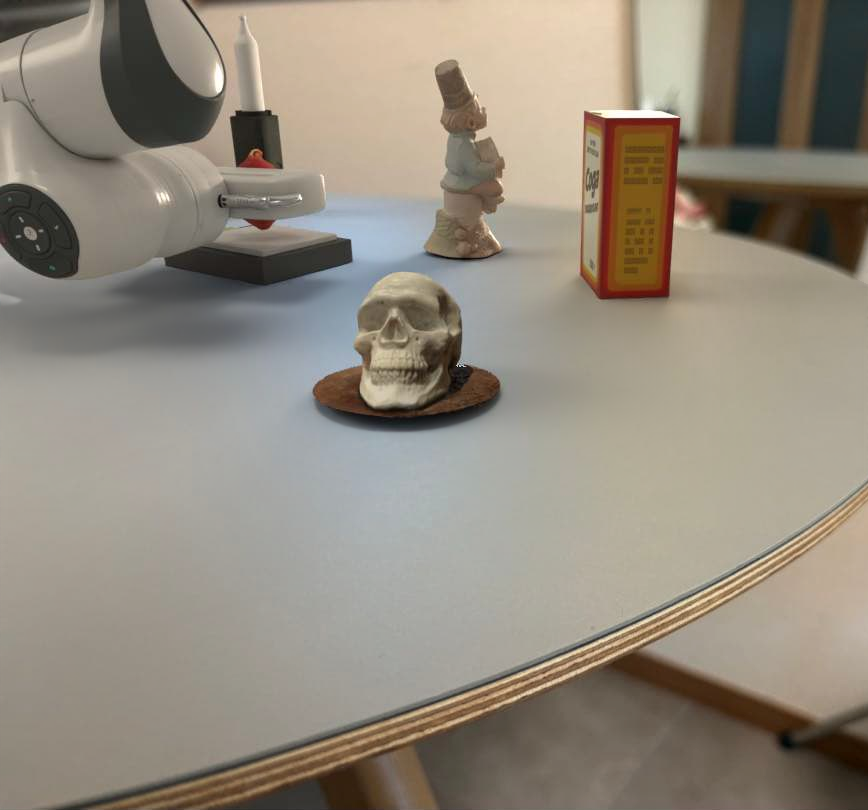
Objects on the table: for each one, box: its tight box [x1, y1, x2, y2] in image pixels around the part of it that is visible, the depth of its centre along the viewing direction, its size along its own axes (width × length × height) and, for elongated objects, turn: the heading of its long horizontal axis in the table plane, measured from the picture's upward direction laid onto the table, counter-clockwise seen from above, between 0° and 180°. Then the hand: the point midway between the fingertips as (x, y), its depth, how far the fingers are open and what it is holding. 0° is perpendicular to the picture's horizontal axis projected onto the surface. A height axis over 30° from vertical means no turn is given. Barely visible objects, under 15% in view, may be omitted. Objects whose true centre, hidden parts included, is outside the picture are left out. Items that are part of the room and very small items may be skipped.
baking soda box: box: [579, 109, 682, 300], centre depth 79 cm, size 10×6×16 cm
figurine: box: [422, 58, 507, 259], centre depth 91 cm, size 9×8×20 cm
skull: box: [312, 271, 501, 419], centre depth 55 cm, size 12×10×10 cm
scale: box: [163, 224, 354, 286], centre depth 89 cm, size 15×12×3 cm
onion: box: [238, 149, 277, 230], centre depth 86 cm, size 6×6×8 cm
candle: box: [229, 13, 284, 169], centre depth 112 cm, size 5×5×25 cm
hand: (262, 179), depth 86 cm, fingers closed on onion, 5 cm apart
